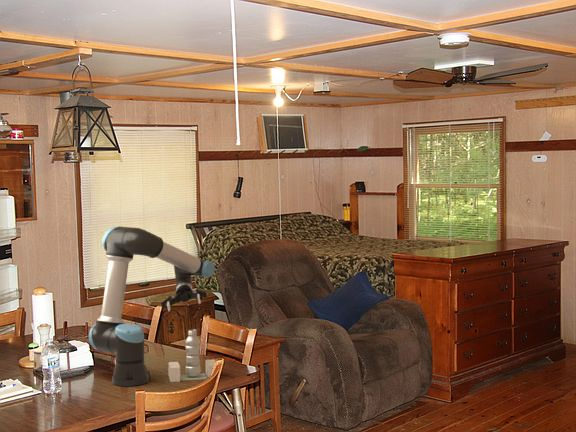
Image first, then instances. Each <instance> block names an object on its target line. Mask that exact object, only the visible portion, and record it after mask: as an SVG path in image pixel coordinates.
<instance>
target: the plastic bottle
mask: <svg viewBox="0 0 576 432" xmlns="http://www.w3.org/2000/svg"><path fill="white" fill-rule="evenodd" d="M187 335H188V336H187V337H186V339H185V341H184V342H185V343H184V345H185V354H186V359H185V367H184V368H185V369H184V373H185V374H184V375H187V376H189V377H196V376H199V375H200V374H201V371H202V370H201V369H202V367H201V364H200V363H201V362H200V351H201V350H200V348H201V340H200V338H199V337H198V330H197V329H196V328H195V329H194V328H192V329H191V328H190V329H188V330H187Z"/></svg>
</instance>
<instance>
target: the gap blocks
mask: <svg viewBox="0 0 576 432" xmlns="http://www.w3.org/2000/svg"><path fill="white" fill-rule="evenodd" d="M215 361H216V359H215V358H213V359H205V375H206V376H207V378H208V377H209V376H210V375H211V372H212V368H213V366H214V363H215ZM167 364H168V378H169V382H170V383H177V382H178V383H179V382H181V379H180V375H181V365H180V362H178V361H168V363H167Z"/></svg>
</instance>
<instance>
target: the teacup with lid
mask: <svg viewBox="0 0 576 432" xmlns="http://www.w3.org/2000/svg"><path fill="white" fill-rule="evenodd" d="M44 344H45V343H41V344H40V345H41V346H38V347H37V348H34V349H33V351H32V352H33V370H34V369H37V368H39V367H41V350H42V347H43V346H44Z"/></svg>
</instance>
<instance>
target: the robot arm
mask: <svg viewBox="0 0 576 432" xmlns="http://www.w3.org/2000/svg"><path fill="white" fill-rule="evenodd" d="M101 243H102V247H103V250H104V251H105V257H106V258H107V260H108V263H107V264H108V265H107V269H106V270H107V271H106V279H105V285H104V292H103V297H102V306H101V312H100V316H99V317H97V319H96V322H95V324H94V325H92V327H91V328H90V330H89V333H88V341H89V344H90V346H91V347H92V348H93V349H94V350H96V351H99V352H101V353H108V354H111V355H115V366H114V370H113V375H112V377H111V383H112V385H114V386H119V387H134V386H140V385H144V384H147V383H149V381H150V379H149V377H150V375H149V373H148V369H147V366H146V364H145V334H144V333H145V332H144V329H143V327H141V326H140V325H137V324H134V323H125V321H124V320H123V319H122V316H123V315H122V314H123V308H124V299H125V294H126V293H125V291H126V285H127V280H128V270H129V264H130V262H131V261H133V260H134V256H144V257H148V258H149V259H155V258H157V259H159V260H161V261H164V262H166V263H167V264H170V265H173V270H174V277H175V278H174V279H175V288H176V289H175V295H174V296H172V295H169V296H168V297H167V298H166V299H164V300H163V301H161V302H160V305H161V308H162V309H166V310H167V311H168V312H171V306H173V305H175V304H177V303H178V304H179V303H181V302H182V303H187V302H189V301H190V300H193V299H194V300H195V299H196V300H197V301H198V304H199V305H200V304H201V303H202V301H203V300H204V298H205V299H206V298H208V296H207V292H206V291H204V290H199V289H198V288H196V289H194V291H193V280H192V276H193V277H201V278H210V277H212V276H213V275H214V273H215V271H216V268H215V264H214V263H213V261H211V260H204V259H201V258H199V257H197V256H194V255H193V254H190V253H189V252H186V251H184V250H182V249H180V248H177V247H176V246H173V245H172V244H169V243H167V242H165V241H164V239H162V237H160V236H158V235H156V234H154V233H152V232H150V231H147V230H146V229H144V228H140V227H130V226H129V227H128V226H120V225H119V226H112V227H110V228H109V229H107V230H106V232H105V233H104V234H103V237H102V240H101Z"/></svg>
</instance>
